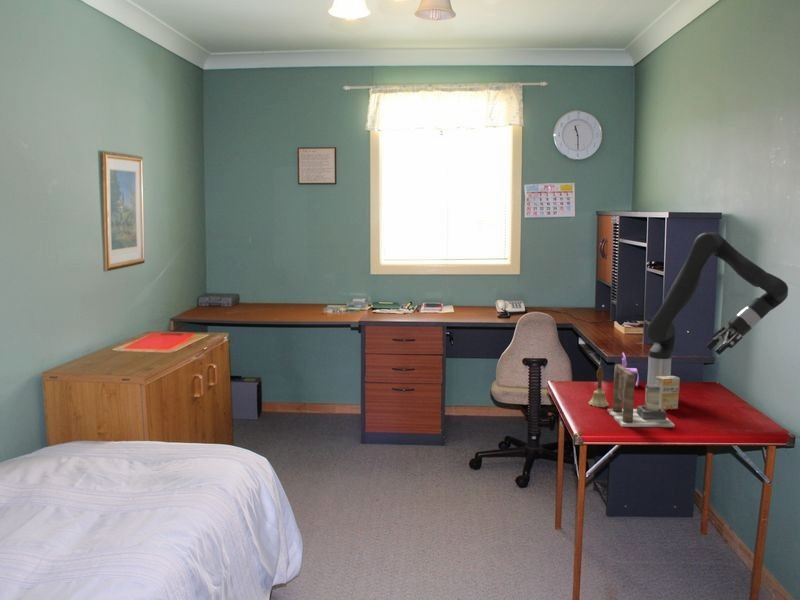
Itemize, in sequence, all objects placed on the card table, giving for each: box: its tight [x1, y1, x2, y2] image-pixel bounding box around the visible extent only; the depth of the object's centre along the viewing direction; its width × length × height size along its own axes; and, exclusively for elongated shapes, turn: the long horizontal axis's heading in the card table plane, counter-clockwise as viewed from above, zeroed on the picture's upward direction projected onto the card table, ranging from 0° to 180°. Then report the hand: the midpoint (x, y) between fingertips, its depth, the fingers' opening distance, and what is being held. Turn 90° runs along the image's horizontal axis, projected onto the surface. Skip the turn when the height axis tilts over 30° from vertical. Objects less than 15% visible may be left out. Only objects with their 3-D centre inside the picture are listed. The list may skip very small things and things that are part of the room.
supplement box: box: [656, 375, 681, 411], centre depth 294 cm, size 8×5×13 cm, turn 106°
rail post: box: [644, 384, 660, 411], centre depth 279 cm, size 4×4×12 cm
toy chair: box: [621, 352, 640, 388], centre depth 332 cm, size 8×9×15 cm
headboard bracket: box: [607, 363, 675, 428], centre depth 279 cm, size 20×20×19 cm
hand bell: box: [587, 366, 610, 408], centre depth 299 cm, size 8×8×16 cm
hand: (712, 350), depth 278 cm, fingers open, 8 cm apart
